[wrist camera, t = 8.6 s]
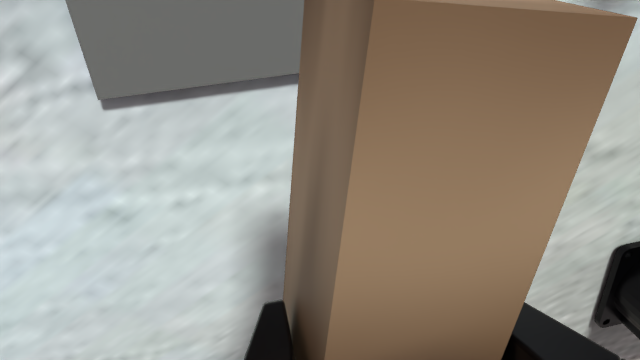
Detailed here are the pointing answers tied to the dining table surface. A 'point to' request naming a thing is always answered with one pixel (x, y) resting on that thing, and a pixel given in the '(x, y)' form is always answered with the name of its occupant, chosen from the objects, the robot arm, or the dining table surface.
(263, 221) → the dining table surface
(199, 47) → the mat
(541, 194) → the plain wood plank
